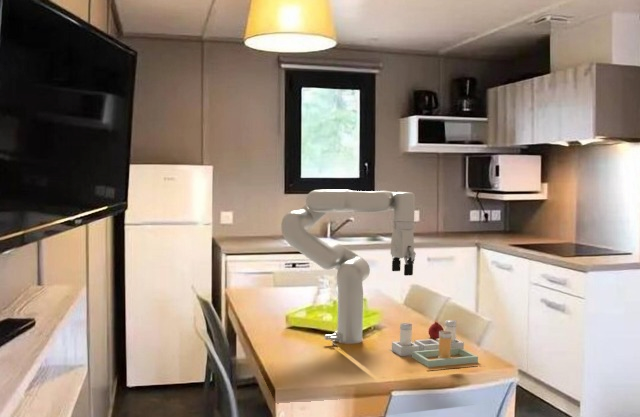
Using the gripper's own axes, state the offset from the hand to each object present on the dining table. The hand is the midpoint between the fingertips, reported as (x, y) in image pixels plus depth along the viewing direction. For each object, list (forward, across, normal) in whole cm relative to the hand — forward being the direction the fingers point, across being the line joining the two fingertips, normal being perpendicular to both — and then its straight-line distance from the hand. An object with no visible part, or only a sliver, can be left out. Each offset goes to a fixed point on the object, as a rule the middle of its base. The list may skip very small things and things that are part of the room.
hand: (402, 273), depth 223 cm
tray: (+28, +20, +7) cm, 35 cm away
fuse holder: (+28, +8, +7) cm, 30 cm away
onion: (+28, -7, +19) cm, 35 cm away
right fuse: (+27, +8, +16) cm, 32 cm away
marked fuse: (+27, +19, +7) cm, 34 cm away
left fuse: (+27, +8, -2) cm, 28 cm away
